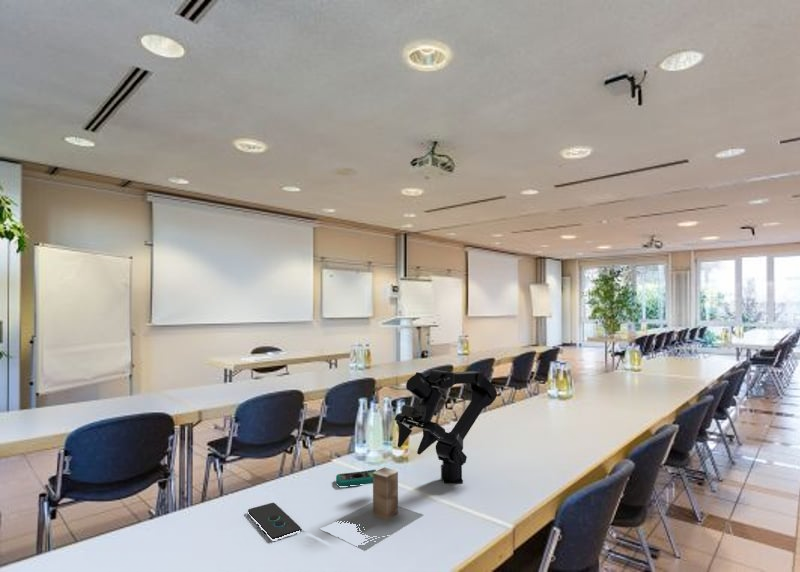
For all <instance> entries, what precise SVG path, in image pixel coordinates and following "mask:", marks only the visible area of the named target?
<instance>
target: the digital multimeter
mask: <svg viewBox="0 0 800 572" xmlns="http://www.w3.org/2000/svg"><path fill="white" fill-rule="evenodd" d="M375 471H377V470H376V469H369V470H362V471H355V472H345V473H338V474H337V475H336V476H335V483H337V484H338V485H339V486H350V485H360V484H364V485H366V484H373V472H375ZM337 484H336V485H337ZM360 486H361V485H360Z"/></svg>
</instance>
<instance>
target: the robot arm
mask: <svg viewBox="0 0 800 572" xmlns="http://www.w3.org/2000/svg"><path fill="white" fill-rule="evenodd" d="M461 384H469V388H470V391H471V395H470V398H471V399H470V400H471V401H470V402H469V404H468V406H467V407H466V409H465V410H464V411H463V412H462V414H461V416H460V417H459V419H458V420H457V422H456V424H455V425H454V427H453V428H452V429H451V430H450V431H449V432H447V431H446V429H445V427H443V426H441V425H440V424H439V423H437V422H433V421H432V419H433V418H434V417H436V416H437V415H438V413H437V412H436V411H437V407H438V405H439V403H440V401H441V400H447V398H446V397H447V396H446V395H445V391H444V390H440V389H445V390H447V389H449V388H453V387H454V385H461ZM405 387H406V389H407V391H408V392H410V393H411V394H412V395H413V396H415V397H416V398H418V399H420V401H419V402H416V403H415V404H414V406H413V405H407V404H402V408H401V412H400V413H399V412H398V413H396V415H395V417H394V419H393V420H394V421H395V423H396V425H397V426H398V439H397V447H398V448H399V449H401V448H402V446H403V445H404V444H405V442H406V440H407V439H408V438H409V436H410V435H411V434H412V432H413V430H412V429H413V428H414V427H415V428H419V429H422V438H421V440H420V444H419V445H418V448H417V451H416V454H417V455H418V456H419V455H421V454H422V453H424V452H425V451H426V450H427V449H429V447H430V446H432V445H433V444H434V443H435V453H436V455H437V458H438V460H439V461H442V464H440V479H441V480H442V481H444V482H443V483H444V484H463V483H464V480H463V466H464V464H467V459H468V456H467V455H466V454H465V452H463V449H464V440H465V438H466V436H467V435H468V434H469V432H470V430H471V429H472V427H473V426H474V423H476V421H477V419H478V417H479V416H480V415H481V412H482V411H483V410H484V409H485V408H487V407H489V406H491V405H492V404H493V403H494V402H495V401H496V399H497V395H498V391H497V389H496V387H495V386H494V385H493V383H492V382H491V381H490V380H489V379H488V378H487V377H485V375H484V374H483V373H482V372H481V371H477V370H469V371H457V372H455V371H454V372H450V371H448V370H447V371H444V370H439V369H432V370H430V373H429V374H427V375H426V376H424V374H423V373H421V372H416V373H415V374H414V375H412V376H411V377H409V379H408V380H407V381H406V384H405Z"/></svg>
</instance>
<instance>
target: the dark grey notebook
mask: <svg viewBox="0 0 800 572" xmlns="http://www.w3.org/2000/svg"><path fill="white" fill-rule="evenodd" d="M248 512H249V514H250V515H251V516H252V517H253V518H254V519H255V520H256V521H257V522H258V523H259V524H260V525H261V527H262V528H263V529H264V530H265V531H266V532H267V534H268V535H269V536H270V537H271V538H272V539H275V538H279V537H282V536H284V535H287V534H290V533H293V532H296V531H299V530H301V529H302V528H301V526H300V525H299V524H298V523H297V522H295V520H293V519H292V518H291V516H289V515H288V514H287V513H286V512H285V511H284V510H283V509H282V508H281V507H280V506H279V505H278V504H277V503H275V502H269V503H266V504H262V505H259V506H255V507H251V508H249V509H247V513H248Z"/></svg>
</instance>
